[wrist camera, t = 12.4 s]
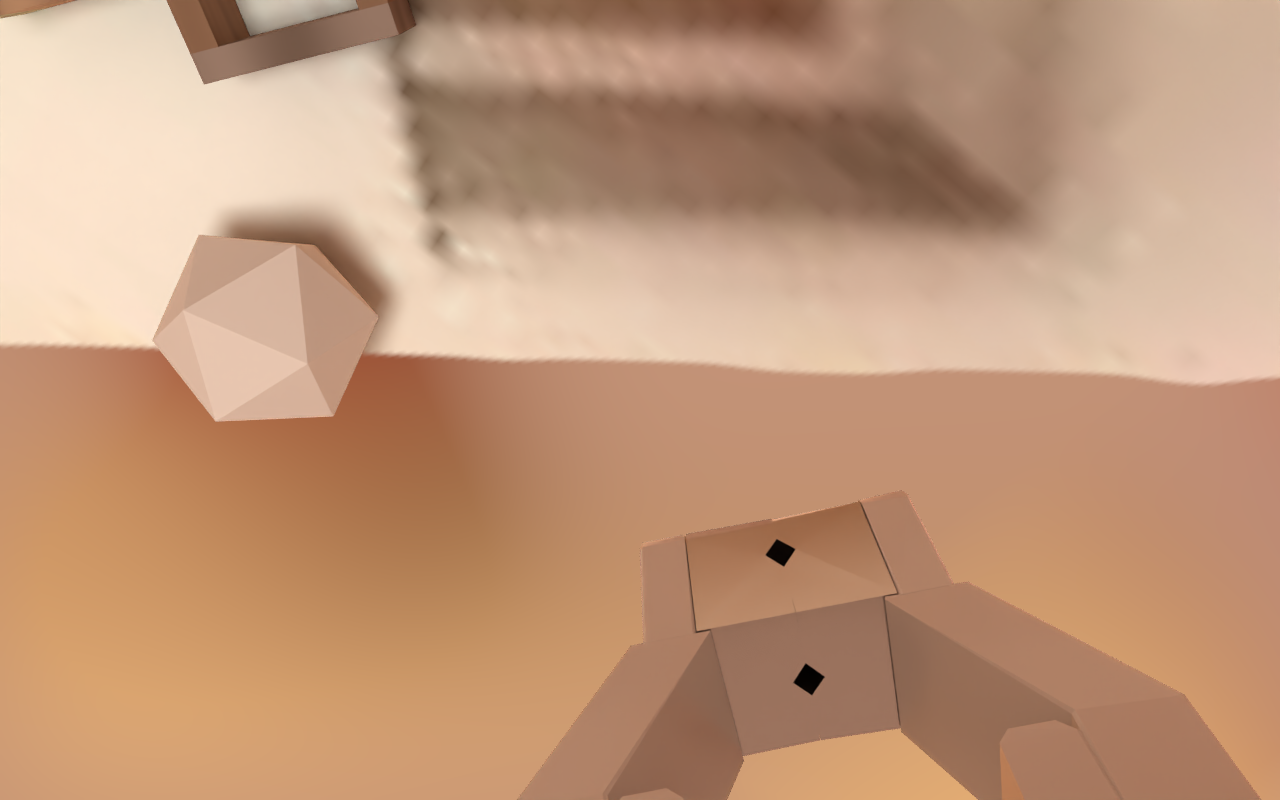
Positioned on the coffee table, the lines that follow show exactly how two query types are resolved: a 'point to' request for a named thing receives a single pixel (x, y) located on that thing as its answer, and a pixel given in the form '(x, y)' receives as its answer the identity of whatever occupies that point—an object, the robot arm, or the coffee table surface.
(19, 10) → the box
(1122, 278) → the coffee table surface
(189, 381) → the die
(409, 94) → the coffee table surface
